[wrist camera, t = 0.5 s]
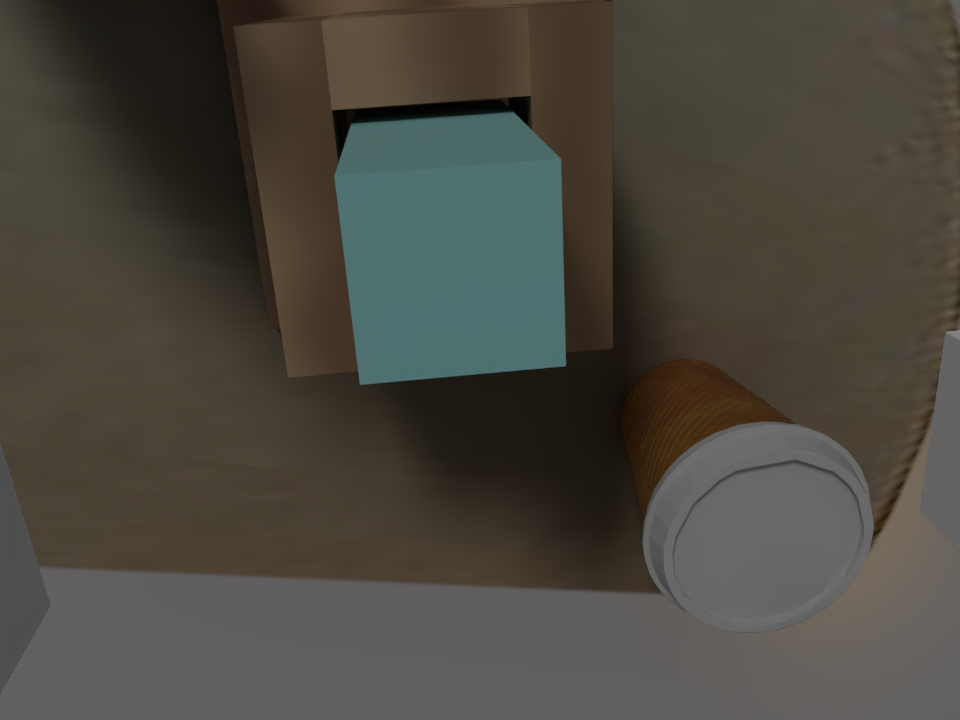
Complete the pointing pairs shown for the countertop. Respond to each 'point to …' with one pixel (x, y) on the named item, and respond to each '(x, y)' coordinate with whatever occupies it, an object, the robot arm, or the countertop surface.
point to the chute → (398, 83)
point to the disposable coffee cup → (741, 501)
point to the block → (451, 242)
